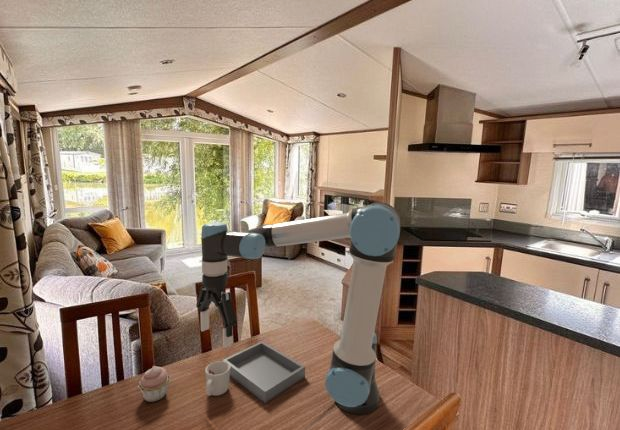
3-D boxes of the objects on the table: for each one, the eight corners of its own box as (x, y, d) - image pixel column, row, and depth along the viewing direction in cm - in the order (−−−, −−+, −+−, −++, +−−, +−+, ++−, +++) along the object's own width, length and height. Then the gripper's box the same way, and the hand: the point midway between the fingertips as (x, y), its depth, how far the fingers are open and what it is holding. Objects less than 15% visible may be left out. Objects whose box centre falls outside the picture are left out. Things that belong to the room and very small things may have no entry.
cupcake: (157, 382, 106) (156, 354, 105) (177, 391, 102) (176, 362, 101) (131, 399, 98) (130, 369, 96) (151, 409, 94) (150, 379, 92)
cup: (219, 407, 95) (219, 383, 94) (195, 402, 97) (195, 379, 96) (234, 384, 106) (234, 362, 105) (213, 380, 107) (212, 359, 106)
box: (305, 377, 110) (305, 366, 110) (265, 403, 97) (265, 391, 97) (261, 350, 126) (261, 341, 126) (222, 370, 113) (222, 359, 113)
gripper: (249, 279, 91) (248, 348, 94) (205, 262, 108) (206, 320, 111) (226, 286, 86) (227, 358, 89) (184, 266, 103) (186, 327, 105)
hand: (215, 337), depth 100 cm, fingers open, 13 cm apart
